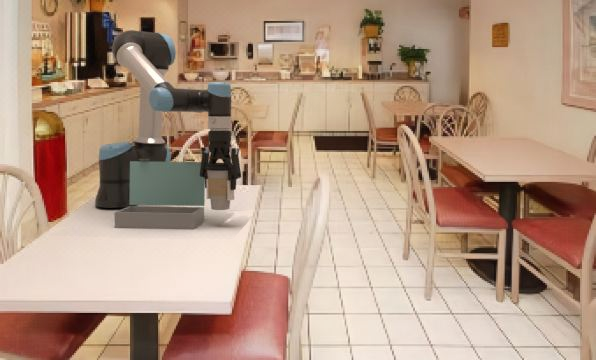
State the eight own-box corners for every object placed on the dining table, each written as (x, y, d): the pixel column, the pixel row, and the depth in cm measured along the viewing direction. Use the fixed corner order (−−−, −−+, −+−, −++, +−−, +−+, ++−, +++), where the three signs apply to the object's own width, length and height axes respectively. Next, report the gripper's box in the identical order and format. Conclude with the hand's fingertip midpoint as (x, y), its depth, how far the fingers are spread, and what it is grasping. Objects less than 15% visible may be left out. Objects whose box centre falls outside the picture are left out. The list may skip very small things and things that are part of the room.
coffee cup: (229, 211, 199) (229, 164, 198) (201, 210, 201) (201, 164, 200) (238, 207, 208) (237, 162, 207) (211, 206, 210) (211, 162, 209)
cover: (128, 204, 213) (130, 204, 215) (203, 206, 211) (204, 205, 213) (128, 158, 213) (130, 158, 215) (203, 159, 211) (204, 159, 213)
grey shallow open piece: (130, 220, 215) (130, 206, 215) (204, 221, 213) (204, 207, 213) (114, 227, 200) (114, 212, 200) (194, 229, 198) (194, 213, 198)
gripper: (187, 129, 204) (188, 198, 206) (239, 130, 194) (239, 202, 196) (202, 129, 211) (202, 196, 213) (252, 130, 201) (252, 200, 203)
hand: (220, 199), depth 205 cm, fingers closed on coffee cup, 8 cm apart
